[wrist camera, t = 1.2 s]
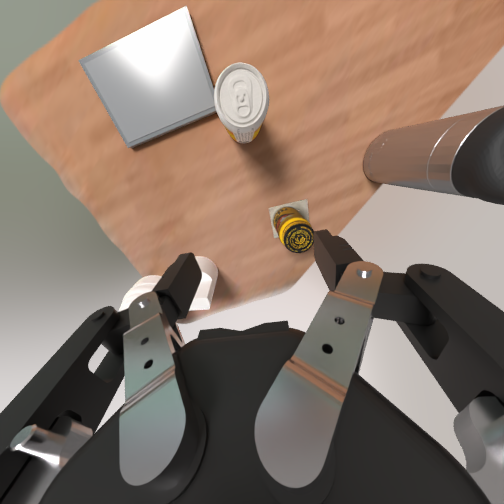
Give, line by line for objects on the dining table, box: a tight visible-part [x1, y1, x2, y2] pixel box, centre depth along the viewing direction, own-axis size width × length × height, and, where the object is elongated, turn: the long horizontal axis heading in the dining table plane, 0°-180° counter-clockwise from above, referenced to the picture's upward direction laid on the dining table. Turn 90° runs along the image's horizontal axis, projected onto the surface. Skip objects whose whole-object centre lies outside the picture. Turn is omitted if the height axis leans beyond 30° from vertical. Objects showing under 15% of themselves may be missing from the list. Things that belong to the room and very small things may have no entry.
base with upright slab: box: [189, 256, 218, 311], centre depth 41 cm, size 9×9×12 cm
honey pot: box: [119, 275, 162, 311], centre depth 41 cm, size 13×13×18 cm
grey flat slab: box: [79, 6, 217, 148], centre depth 29 cm, size 18×12×1 cm, turn 108°
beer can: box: [214, 63, 269, 143], centre depth 25 cm, size 6×6×15 cm
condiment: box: [269, 199, 314, 253], centre depth 35 cm, size 7×8×12 cm
